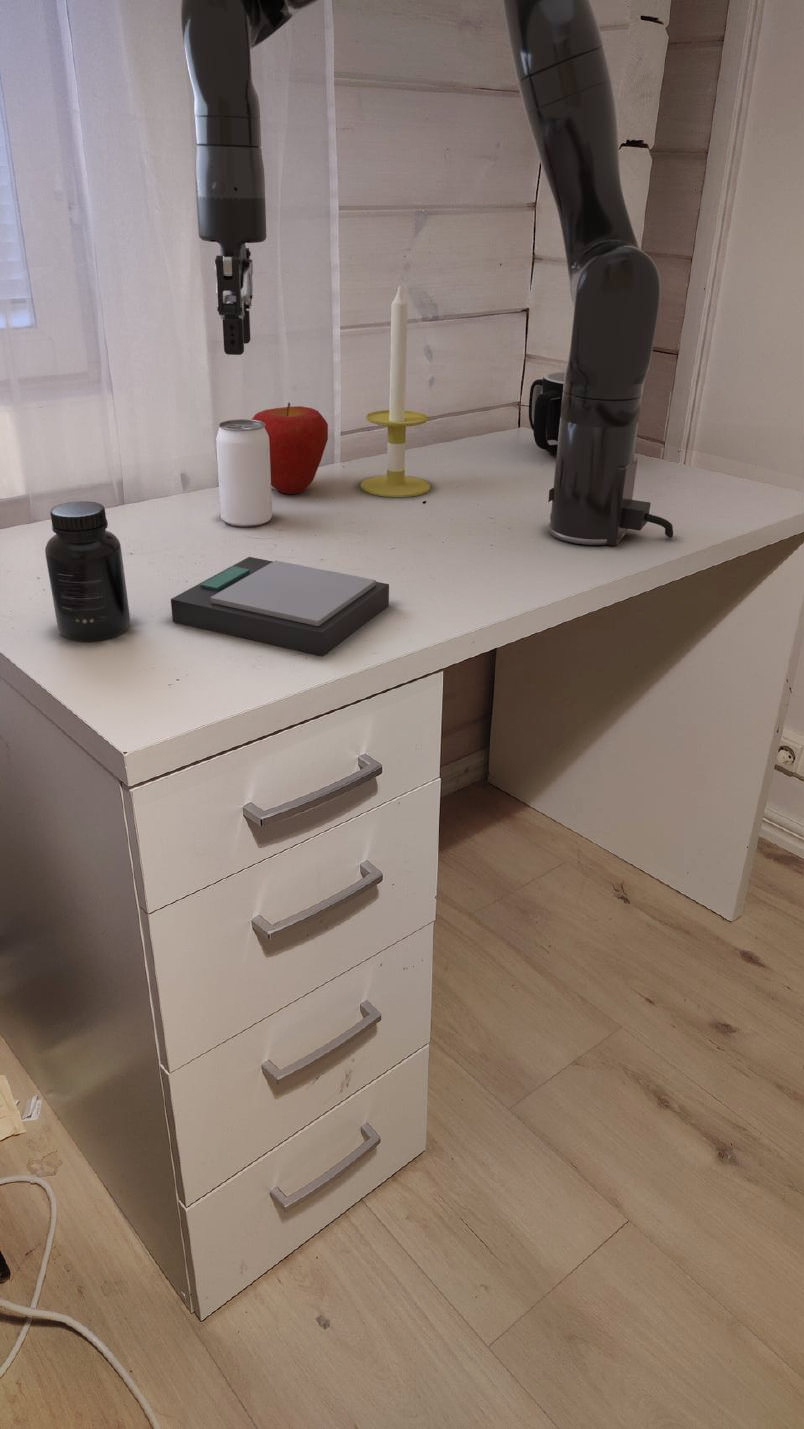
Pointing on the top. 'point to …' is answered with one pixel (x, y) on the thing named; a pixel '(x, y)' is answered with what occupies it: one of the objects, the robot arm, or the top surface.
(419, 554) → the top surface
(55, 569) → the supplement bottle
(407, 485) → the candle
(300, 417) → the apple
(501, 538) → the top surface
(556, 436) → the mug
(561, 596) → the top surface
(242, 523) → the can
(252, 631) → the scale
